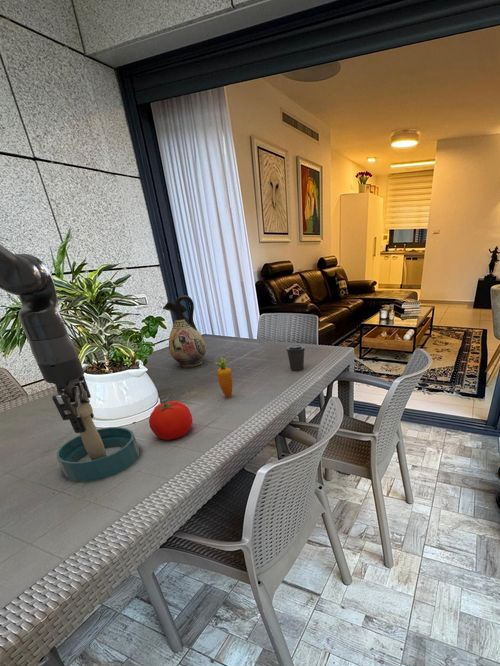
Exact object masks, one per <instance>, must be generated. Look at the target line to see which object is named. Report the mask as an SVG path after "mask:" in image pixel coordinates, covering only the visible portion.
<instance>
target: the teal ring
mask: <svg viewBox="0 0 500 666" xmlns="http://www.w3.org/2000/svg"><path fill="white" fill-rule="evenodd" d="M96 429H97V431H98V433H99V435H100V437H101V440H102V442H103V445H104V448H105V449H109V448H119V447H120V448H119V449H118V450H116V451H114V452H111V453H110V454H108V455H107V456H105V457H102V458H98V459H95V460H91V459H90V460H86V461H80V460H81V459H83V458H85V457H86V456H89V455H88V453H87V451H86V449H85V447H84V444H83V441H82V439H81V436H80V434H79V435H76V436H74V437H73V438H70V439H69V440H67V441H66V442H65V443H63V444H62V445H61V446H60V447H59V448H58V449H57V451H56V459H57V462H58V464H59V466H60V468H61V470H62V472H63V474H64V476H65V477H66V478H67V479H68V480H71V481H75V482H92V481H93V482H94V481H97V480H103V479H106V478H109V477H111V476H114V475H117V474H119V473H120V472H123V471H124V470H125V471H126V469H128V468H129V467H131V466H132V465H133V464H134V463H135V462H136V461H137V459H138V458H139V457H140V454H141V453H140V448H139V446H138V443H137V440H136V436H135V433H134V432H133V430H130V429H129V428H126V427H121V426H111V427H110V426H109V427H103V428H96Z"/></svg>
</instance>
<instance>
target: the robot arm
mask: <svg viewBox="0 0 500 666" xmlns="http://www.w3.org/2000/svg"><path fill="white" fill-rule="evenodd" d="M0 290H3V291H4V292H6V293H8V294H11V295H13V296H14V295H15V296H18V297H19V300H20V304H21V308H20V310H19V312H18V320H19V323H20V325H21V327H22V329H23V332H24V333H25V336H26V338H27V340H28V344H29V347H30V351H31V354H32V356H33V358H34V360H35V363H36V365H37V367H38V369H39V371H40V373H41V376H42V378H43V380H44V382H46V383H48V384H53V385H55V387H56V393H57V394H56V395H52V397H51V399H52V401H53V404H54V405H55V408H56V409H57V411H58V413H59V415H60V417H61V419H62V420H63V421H69V422H70V425H71V427H72V429H73V431H74V433H76V434H80V433H81V432H85V431H86V427H85V425H84V422H83V420H82V417H81V416H80V410H79V407H81V403H89V404H90V403H91V400H90V399H91V398H92V394H91V393H90V390H89V387H88V384H87V381H86V378H85V375H84V374H85V370H84V367H83V364H82V362H81V360H80V357H79V355H78V352H77V349H76V347H75V344H74V342H73V340H72V338H71V337H70V335H69V332H68V330H67V327H66V324H65V322H64V320H63V317H62V315H61V312H60V308H59V301H58V294H57V289H56V285H55V282H54V278H53V276H52V274H51V271H50V269H49V268H48V267H47V265H46V264H45V263H44V262H43V260H41V259H40V258H39V257H37V256H35V255H32V254H29V253H15V254H14V253H13V252H11V251H10V250H9V249H7V248H6V247H4V246H3V245H2V244H0ZM74 408H75V410H74ZM90 416H91V418H92V419H93V418H94V417H95V415H94V412H93V413H92V414H91V415H90Z"/></svg>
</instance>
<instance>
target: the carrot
mask: <svg viewBox="0 0 500 666" xmlns="http://www.w3.org/2000/svg"><path fill="white" fill-rule="evenodd" d="M219 360H220V363H219V362H214V364H215V365H217V366H218V367H219V368H218V369H217V372H216V374H217V375H216V376H217V379H218V383H219V386H220V389H221V391H222V393H223V395H224V397H225V398H227V399H230V398H231V397H232V394H233V375H232V369H231V368H230V367H227V366H226V365H227V359H225V358H224V357H222V356H220V357H219Z"/></svg>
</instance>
